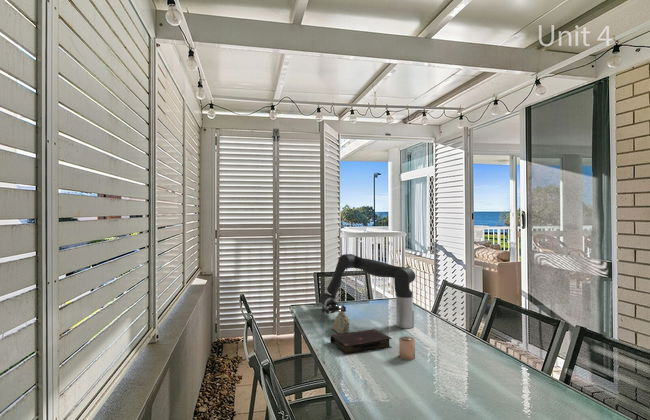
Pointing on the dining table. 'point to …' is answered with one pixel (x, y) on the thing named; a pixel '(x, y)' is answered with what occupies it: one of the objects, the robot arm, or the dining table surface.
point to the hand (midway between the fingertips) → (335, 312)
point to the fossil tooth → (341, 323)
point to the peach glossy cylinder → (407, 348)
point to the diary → (361, 341)
